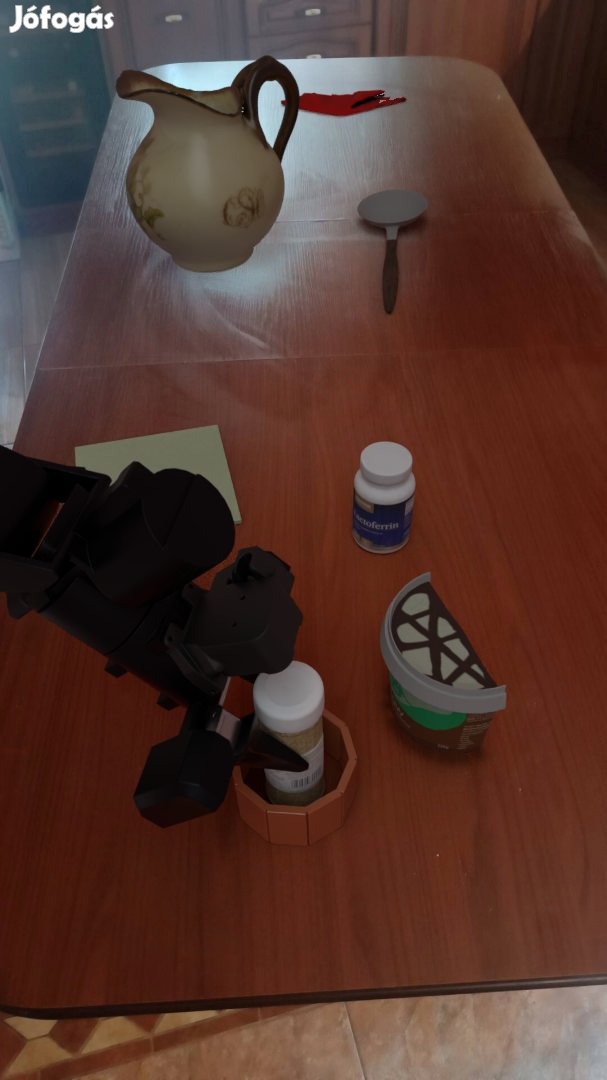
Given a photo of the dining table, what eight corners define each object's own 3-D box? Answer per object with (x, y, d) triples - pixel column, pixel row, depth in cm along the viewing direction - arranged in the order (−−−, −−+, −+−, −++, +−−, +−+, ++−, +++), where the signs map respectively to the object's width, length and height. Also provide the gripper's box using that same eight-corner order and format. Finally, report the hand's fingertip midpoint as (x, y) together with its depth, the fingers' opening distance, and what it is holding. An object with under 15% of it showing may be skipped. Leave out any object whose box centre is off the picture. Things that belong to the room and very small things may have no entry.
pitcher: (112, 279, 116) (73, 89, 98) (177, 211, 132) (153, 36, 114) (257, 299, 111) (244, 103, 93) (307, 226, 127) (304, 46, 109)
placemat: (80, 551, 78) (79, 548, 78) (75, 450, 89) (74, 446, 89) (242, 523, 80) (241, 519, 80) (218, 427, 91) (217, 424, 91)
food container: (352, 665, 68) (354, 588, 61) (417, 644, 69) (427, 566, 62) (416, 792, 60) (428, 721, 53) (489, 765, 61) (510, 691, 54)
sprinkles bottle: (317, 754, 62) (315, 651, 53) (331, 809, 59) (332, 709, 49) (259, 767, 62) (246, 665, 52) (271, 823, 58) (259, 724, 49)
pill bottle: (344, 548, 77) (346, 470, 70) (360, 509, 81) (363, 432, 74) (402, 561, 76) (410, 483, 69) (416, 521, 80) (424, 443, 73)
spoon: (427, 205, 129) (427, 187, 127) (430, 320, 107) (430, 301, 105) (360, 210, 131) (358, 192, 129) (349, 324, 109) (347, 305, 107)
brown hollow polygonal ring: (248, 860, 57) (242, 829, 53) (227, 747, 63) (221, 712, 59) (367, 831, 58) (370, 799, 54) (336, 723, 64) (336, 688, 60)
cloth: (272, 114, 162) (272, 102, 161) (286, 92, 172) (286, 81, 170) (401, 120, 159) (401, 107, 157) (407, 97, 168) (408, 85, 166)
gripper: (154, 709, 37) (379, 852, 43) (251, 454, 50) (415, 593, 56) (40, 764, 44) (249, 881, 50) (151, 528, 57) (307, 644, 63)
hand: (311, 739), depth 55 cm, fingers closed on sprinkles bottle, 4 cm apart
